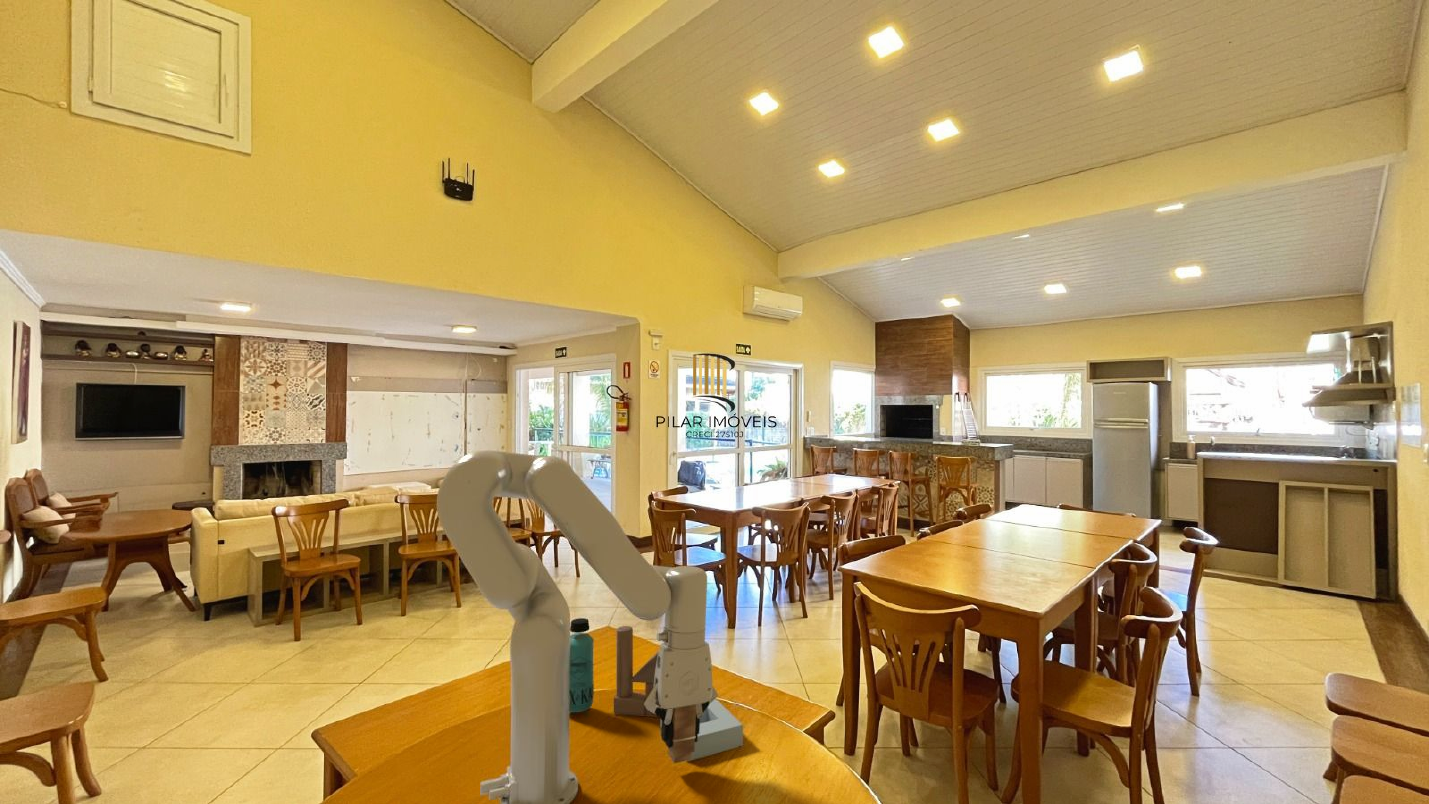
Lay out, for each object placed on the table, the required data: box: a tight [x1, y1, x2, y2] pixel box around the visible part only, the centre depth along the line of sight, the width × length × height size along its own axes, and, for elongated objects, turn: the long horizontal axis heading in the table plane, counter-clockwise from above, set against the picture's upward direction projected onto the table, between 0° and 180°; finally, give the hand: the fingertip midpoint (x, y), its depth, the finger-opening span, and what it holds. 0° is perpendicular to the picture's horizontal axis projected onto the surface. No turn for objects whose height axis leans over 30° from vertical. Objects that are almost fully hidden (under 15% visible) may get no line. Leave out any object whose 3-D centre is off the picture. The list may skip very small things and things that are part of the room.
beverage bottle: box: [569, 617, 595, 713], centre depth 123 cm, size 6×7×20 cm
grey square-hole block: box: [659, 698, 744, 762], centre depth 113 cm, size 12×14×4 cm
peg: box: [664, 705, 696, 764], centre depth 101 cm, size 4×4×10 cm
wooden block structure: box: [613, 625, 661, 719], centre depth 123 cm, size 4×11×18 cm, turn 81°
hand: (680, 740), depth 101 cm, fingers closed on peg, 4 cm apart
